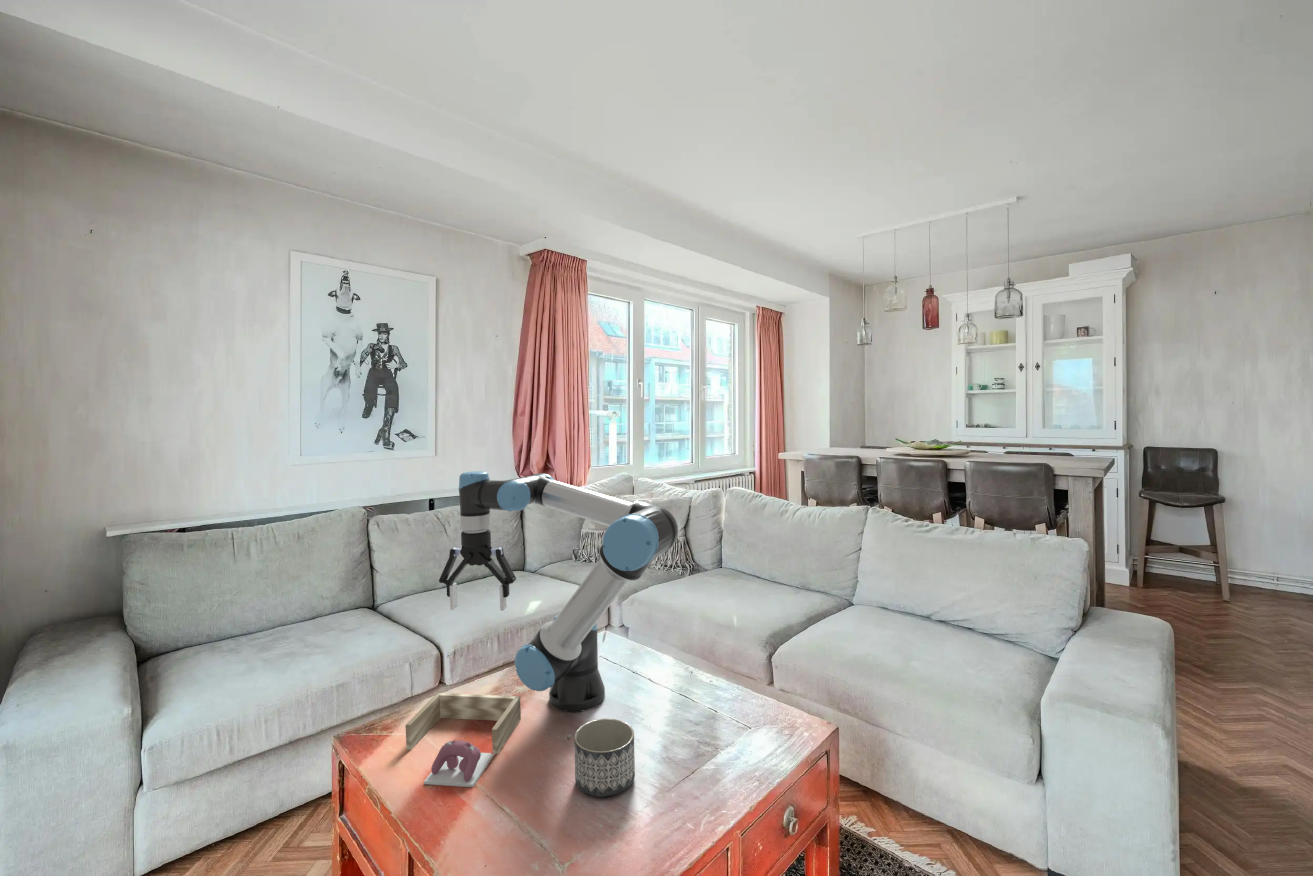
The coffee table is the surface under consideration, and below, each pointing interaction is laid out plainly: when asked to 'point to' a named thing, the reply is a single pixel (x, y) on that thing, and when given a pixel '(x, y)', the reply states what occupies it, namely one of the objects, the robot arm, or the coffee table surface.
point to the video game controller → (451, 753)
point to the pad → (458, 773)
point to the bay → (467, 715)
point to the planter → (604, 757)
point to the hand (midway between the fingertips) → (478, 608)
